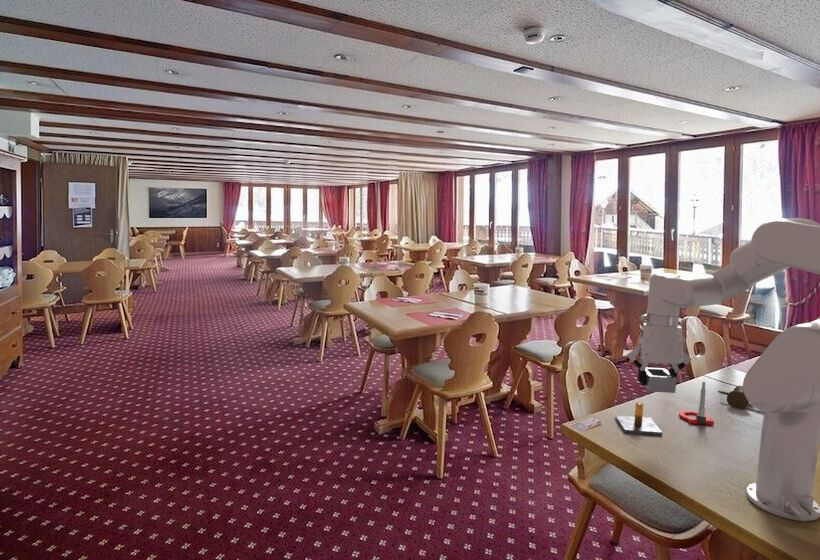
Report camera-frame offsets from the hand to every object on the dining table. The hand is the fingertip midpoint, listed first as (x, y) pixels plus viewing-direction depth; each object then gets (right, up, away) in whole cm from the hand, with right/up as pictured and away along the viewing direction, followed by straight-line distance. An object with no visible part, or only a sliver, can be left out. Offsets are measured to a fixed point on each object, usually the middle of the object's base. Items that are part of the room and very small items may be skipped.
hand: (656, 384), depth 130 cm
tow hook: (+20, -14, +16) cm, 30 cm away
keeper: (0, -15, +10) cm, 18 cm away
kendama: (+44, -14, +25) cm, 52 cm away
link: (0, -1, 0) cm, 1 cm away
